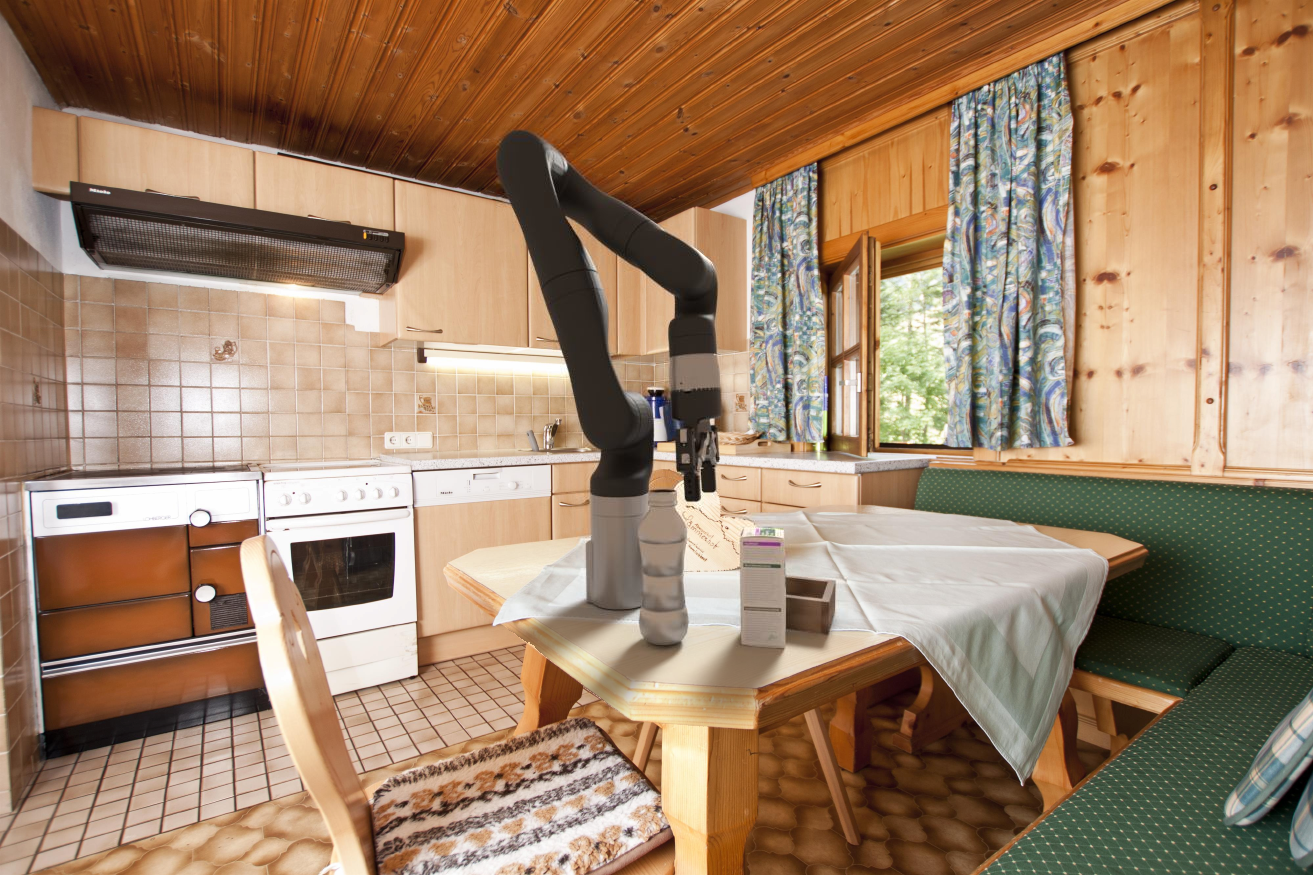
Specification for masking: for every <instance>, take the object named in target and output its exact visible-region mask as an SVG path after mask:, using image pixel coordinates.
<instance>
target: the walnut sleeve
mask: <svg viewBox="0 0 1313 875" xmlns="http://www.w3.org/2000/svg"><path fill="white" fill-rule="evenodd" d="M836 585H837V582H836V580H835V579H825V578H817V577H809V576H807V577H806V576H796V575H788V574H786V630H790V631H791V630H792V631H798V632H807V633H811V634H812V633H813V634H819V635H820V634H821V635H827V636H829V635H830V631H831V628H832V627H831V626H832V624H833V620H834V616H835V611H836Z"/></svg>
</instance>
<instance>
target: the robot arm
mask: <svg viewBox="0 0 1313 875" xmlns="http://www.w3.org/2000/svg"><path fill="white" fill-rule="evenodd" d="M496 171H497V175H498V178H499V181H500V183H501V186H502V188H503V190H504V192H505V194H506V196H507V199H508V201H509V203H510V204H509V205H511V207H512V210H513V212H514V214H515V217H516V219H517V221H518V223H519V227H520V229H521V232H522V234H523V237H524V241H525V243H526V247H527V251H528V253H529V255H530V260H531V262H532V265H533V267H534V271H535V273H536V277H537V280H538V283H539V287H540V291H541V294H542V297H543V300H544V303H545V306H546V309H547V312H548V315H549V318H550V320H551V323H552V325H553V328H554V332H555V334H556V339H557V341H558V344H559V347H560V351H561V353H562V357H563V360H564V362H565V366H566V369H567V372H568V376H569V381H570V385H571V389H572V390H571V391H572V394H573V399H574V403H575V407H576V413H577V417H578V421H579V425H580V428H581V430H582V432H583V435H584V437H585V438H586V440H587V441H588V443H590V445H592V446H593V447H595V448H596V449H598V450H600V458H599V462H598V465H597V467H596V468H595V470H594V471H593V472H592V474H591V475H590V479H589V496H590V497H589V499H590V500H589V502H590V506H589V507H590V508H589V510H590V512H589V513H590V540H587V541H586V543H585V581H586V582H585V584H586V585H585V588H586V589H585V590H586V593H585V595H586V600H585V601H586V602H587V603H591V604H594V605H595V606H597V607H599V608H602V609H608V610H631V609H636V608H641V606H642V593H643V570H642V557H641V551H640V545H639V539H638V529H639V525H640V523H641V522H642V520H643V518H644V517H645V515H646V514H647V513H648V511H649V510H650V506H649V505H648V501H649V490H650V481H651V477H652V473H653V471H654V470H653V469H654V455H655V454H654V452H655V451H654V450H655V420H654V413H653V408H652V407H651V404H650V403H649V401H648V400H647V399H646V397H645V396H643V395H642V394H641V393H639V392H636V391H633V390H626V389H625V390H624V389H623V386H622V384H621V382H620V380H619V377H618V374H617V372H616V369H615V366H614V363H613V360H612V357H611V353H610V346H609V345H610V344H609V321H610V320H609V307H608V300H607V297H606V293H605V291H604V288H603V284H602V282H601V279H600V276H599V273H598V270H597V268H596V266H595V263H594V261H593V260H592V257H591V256H590V253H589V252H588V250H587V248H586V247H585V245H584V243H583V242H582V240H581V238H580V237H579V235H578V234H577V232H576V231H575V229H574V228H573V226H572V225H571V223H570V222H569V220H568V219H570V220H571V221H573V222H575V223H577V224H579V225H580V226H581V227H582V228H584V230H586V231H587V232H588V233H589V234H590V235H591V236H592V237H593V238H594V239H596V240H597V241H598V243H600V244H602V245H603V246H604V247H605V248H607V249H608V250H609V251H611V252H612V253H614V254H615V255H616V256H617V257H619V258H621V259H623V261H625V262H627V263H628V264H629V265H631V266H632V267H635V268H636V269H639V270H640V271H641V272H642V273H643V274H645V275H646V276H647V277H648V278H649V279H650V280H652V281H653V282H654V283H656V284H657V285H658V286H660V287H661V288H663V289H664V290H665V292H666V291H667V292H668V293H670V294H671V295H673V296H674V318H672V319H671V320H669V323H668V328H667V336H668V337H667V338H668V350H669V351H668V352H669V354H668V355H669V359H668V360H669V364H668V365H669V366H668V383H669V384H668V385H669V386H668V387H669V400H670V415H671V419H672V420H673V421H675V422H677V421H682V422H683V426H682V428H676V429H675V430H674V443H675V444H674V446H675V468H676V472H677V473H680V474H681V476H683V489H684V492H683V494H684V500H685V501H686V502H688V503H694V502H695V503H696V502H697V503H698V502H699V501H701V500H702V499H701V498H702V495H701V494H702V493H705V494H709V493H711V494H712V493H715V492H716V491H717V477H716V476H717V475H716V474H717V473H716V468H717V467H718V466H717V465H718V463H720V448H719V447H720V446H719V445H720V444H719V435H718V434H719V433H718V425H717V424H711V422H710V421H711V420H712V419H720V418H721V417H722V416H723V406H722V404H723V403H722V391H721V390H722V389H721V388H722V387H721V385H722V384H721V373H720V372H721V371H720V365H719V361H718V347H717V334H716V325H715V323H716V315H717V306H718V297H719V296H718V294H719V283H718V282H719V281H718V276H717V270H716V268H715V266H714V264H713V262H712V261H711V260H710V259H709V258H707V257H706V255H704V254H703V253H702V252H701V251H699V250H698V249H697V248H695V247H694V246H692V245H690V244H689V243H687V242H686V241H684V240H682V239H680V238H679V237H677V236H675V235H673V234H671V233H669V232H668V231H665V229H663V228H662V227H661V226H660V225H658V224H657V223H656V222H655V221H653V220H651V218H648V216H646V215H644V214H643V213H641V212H639V210H636V209H635V208H633V207H632V206H630V205H628V204H627V203H625V202H623V201H622V200H619V199H617V198H616V197H613V196H611V195H609V194H607V193H605V192H604V191H602V190H600V189H599V188H597V187H596V186H595V185H593V184H592V183H591V182H590V181H589V180H587V179H586V178H585V177H584V176H583V175H582V174H581V173H580V172H579V171H578V170H577V169H575V167H574V166H573V165H572V164H571V163H570V162H569V161H568V160H567V159H566V158H565V157H564V155H563V154H562V153H561V152H560V151H559V150H558V149H557V148H555V147H554V146H553V145H552V144H550V143H549V142H548V141H547V140H545V139H544V138H543V137H541V136H539V135H537V134H536V133H533V132H531V131H528V130H526V129H514V130H512V131H510V132H508V133H506V134H505V135H504V136H503V138H502V139H501V141H500V143H499V145H498V148H497V152H496ZM567 218H568V219H567ZM701 492H702V493H701Z"/></svg>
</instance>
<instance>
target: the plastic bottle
mask: <svg viewBox="0 0 1313 875" xmlns="http://www.w3.org/2000/svg"><path fill="white" fill-rule="evenodd" d="M677 492H678V491H677V489H675V488H674V489H673V488H654V489H649V501H648V505H649V511H648V513H647V514H646V515H645V517H644V518H643V520H642V522H641V523H640V525H639V529H638V539H639V545H640V551H641V557H642V570H643V593H642V606H640V610H639V615H638V616H639V617H638V625H639V630H640V631H639V632H640V635H641V637H642V638H643V639H644V640H645V642H647V643H649V644H652V645H656V646H669V645H670V646H671V645H674V644H678V643H680V642H682V641H683V640H684V638H685V637H686V636H687V634H688V628H689V624H690V623H689V622H690V621H689V620H690V619H689V613H688V612H689V611H688V608H687V604H686V597H685V596H686V595H685V586H684V585H685V584H684V575H685V574H684V570H685V554H686V547H687V539H688V528H687V525H686V523H685V521H684V520H683V518H682V516H681V514H679V512H678V511H677V510H676V506H677V505H678V499H677V497H678V493H677Z"/></svg>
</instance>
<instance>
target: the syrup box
mask: <svg viewBox="0 0 1313 875" xmlns="http://www.w3.org/2000/svg"><path fill="white" fill-rule="evenodd" d="M785 548H786V547H785V530H784V528H780V527H773V526H748V527H742V530H741V533H740V537H739V572H740V573H739V574H740V576H739V584H740V585H739V586H740V587H739V588H740V589H739V590H740V592H739V593H740V595H739V596H740V643H741V645H743V646H748V647H749V646H750V647H758V648H759V647H760V648H771V649H785V647H786V635H787V634H786V632H787V629H786V575H787V574H786V550H785Z"/></svg>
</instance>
